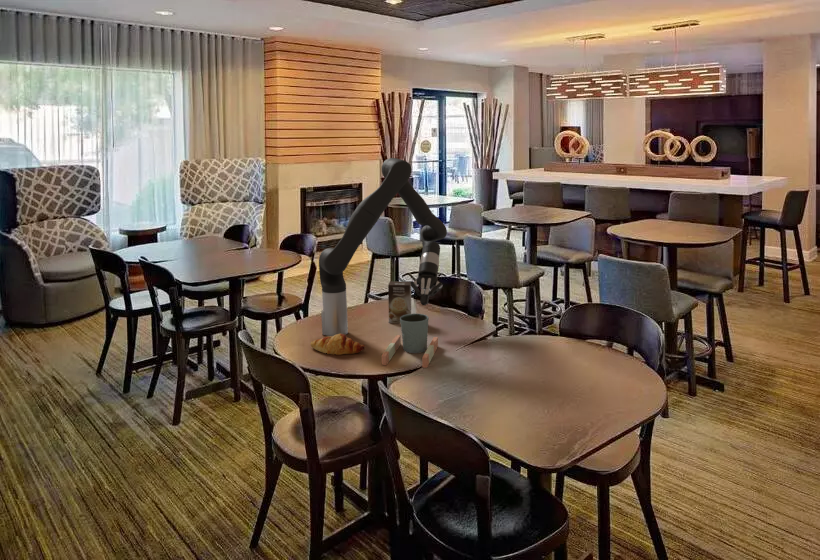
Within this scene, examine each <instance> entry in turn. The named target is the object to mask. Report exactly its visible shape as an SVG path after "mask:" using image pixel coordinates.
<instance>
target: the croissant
mask: <svg viewBox="0 0 820 560" xmlns="http://www.w3.org/2000/svg"><path fill="white" fill-rule="evenodd" d="M310 347H311V348H313V349H314V350H316V351H317V352H320V353H324V354H326V353H327V354H326V355H334V354H336V355H335V356H337V355H338V356H341V355H352V354H358V353H360V352H362V351H364V350H365V348H366V347H365V345H364V344H360V342H358V341H354V340H353V339H352V338H351V337H348V336H346V335H344V334H341V333H340V334H336V335H334V336H324V337H323V338H317V339H315V340H312V341H311V342H310Z"/></svg>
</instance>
